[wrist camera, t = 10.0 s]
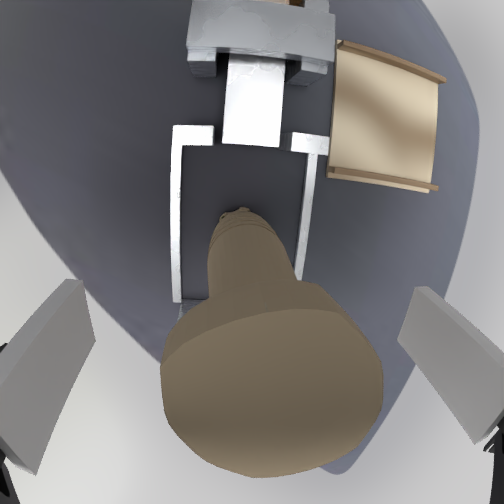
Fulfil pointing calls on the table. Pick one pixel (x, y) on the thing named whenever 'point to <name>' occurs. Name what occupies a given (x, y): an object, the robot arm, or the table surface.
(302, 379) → the handle
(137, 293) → the table surface
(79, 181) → the table surface
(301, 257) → the silver rectangular frame
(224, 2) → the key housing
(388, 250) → the table surface
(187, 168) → the table surface
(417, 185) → the tan base plate
